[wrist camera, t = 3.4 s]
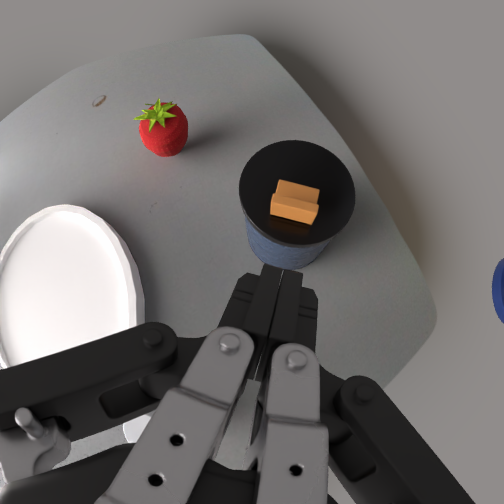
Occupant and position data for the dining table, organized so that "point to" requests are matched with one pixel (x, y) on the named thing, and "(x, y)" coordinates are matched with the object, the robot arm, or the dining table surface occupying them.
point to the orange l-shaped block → (295, 202)
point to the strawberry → (163, 128)
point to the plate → (65, 284)
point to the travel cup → (283, 229)
